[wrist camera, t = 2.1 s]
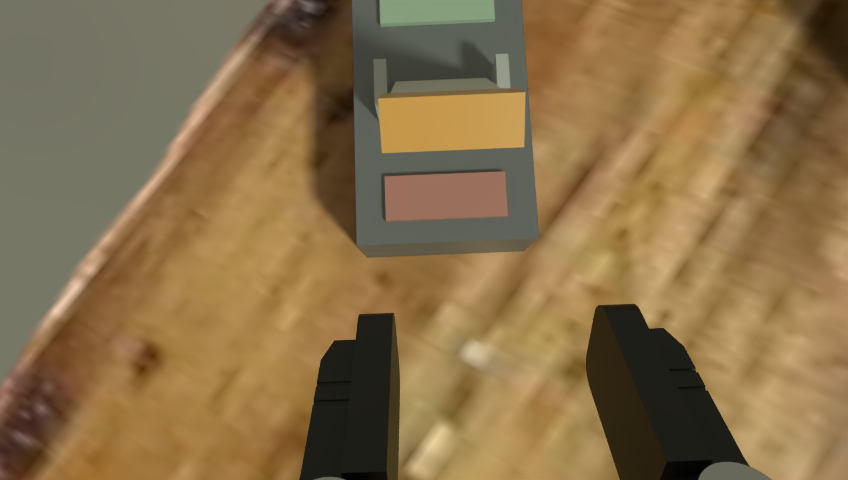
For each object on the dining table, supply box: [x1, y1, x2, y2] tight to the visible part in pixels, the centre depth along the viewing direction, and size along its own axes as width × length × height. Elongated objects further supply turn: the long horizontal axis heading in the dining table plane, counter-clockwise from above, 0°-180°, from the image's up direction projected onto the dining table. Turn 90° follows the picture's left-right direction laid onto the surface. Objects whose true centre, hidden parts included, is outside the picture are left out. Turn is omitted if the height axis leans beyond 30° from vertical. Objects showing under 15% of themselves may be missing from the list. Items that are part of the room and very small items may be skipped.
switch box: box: [352, 0, 539, 257], centre depth 40 cm, size 20×12×9 cm, turn 2°
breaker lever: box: [378, 78, 525, 153], centre depth 31 cm, size 2×6×14 cm, turn 92°
